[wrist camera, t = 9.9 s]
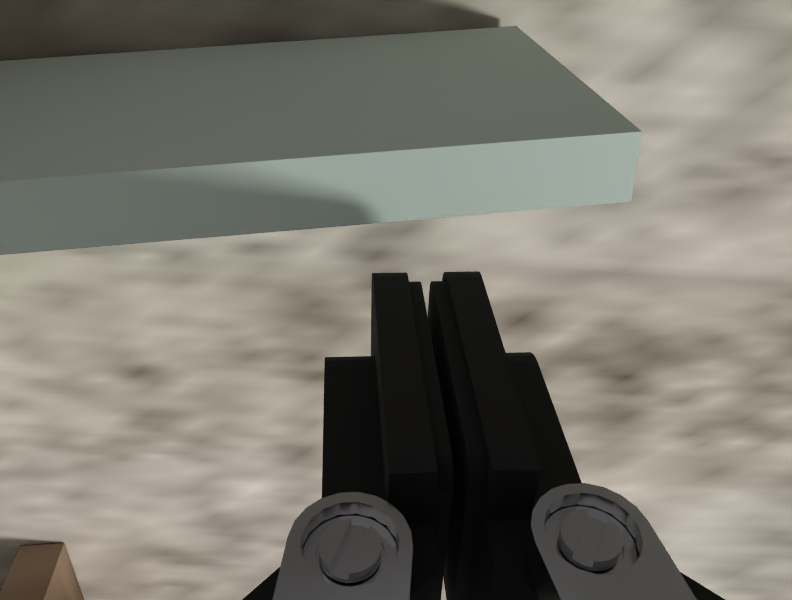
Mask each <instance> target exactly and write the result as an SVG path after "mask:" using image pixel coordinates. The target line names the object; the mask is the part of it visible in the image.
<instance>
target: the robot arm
mask: <svg viewBox="0 0 792 600" xmlns="http://www.w3.org/2000/svg"><path fill="white" fill-rule="evenodd" d="M443 577H444V584H445V591H446V598H447V600H725V599H723V598H722V597H720V596H718V595H717V594H715V593H713V592H712V591H710V590H709V589H707V588H705V587H704V586H702V585H700V584H699V583H697V582H696V581H694V580H692V579H691V578H689V577H687V576H686V575H684V574H683V573H681V572H679V570H678V568H677V567H676V565H675V564H674V562H673V560H672V559H671V557H670V555H669V554H668V552H667V551H666V549H665V547H664V546H663V544H662V543H661V541H660V539H659V538H658V536H657V534H656V533H655V531H654V530H653V528H652V526H651V525H650V523H649V522H648V520H647V519H646V518H645V517H644V515H643V514H642V513H641V512H640V511H639V509H638V508H637V507H636V506H635V505H633V504H632V503H631V502H629V501H628V500H627V499H625V498H624V497H623V496H621V495H620V494H617V493H615V492H613V491H611V490H608V489H606V488H604V487H600V486H595V485H591V484H586V483H581V480H580V477H579V474H578V472H577V469H576V466H575V463H574V461H573V458H572V455H571V452H570V450H569V447H568V444H567V442H566V439H565V436H564V433H563V431H562V428H561V425H560V422H559V420H558V417H557V414H556V411H555V409H554V406H553V403H552V400H551V398H550V395H549V392H548V389H547V387H546V384H545V381H544V378H543V376H542V373H541V370H540V368H539V365H538V362H537V360H536V358H535V356H534V355H533V354H532V353H531V352H526V353H505V350H504V347H503V343H502V340H501V337H500V334H499V331H498V327H497V324H496V321H495V318H494V315H493V311H492V308H491V305H490V302H489V299H488V295H487V292H486V289H485V286H484V282H483V279H482V276H481V274H480V272H444V274H443V278H442V281H431V283H430V291H429V306H428V318H427V312H426V307H425V301H424V296H423V290H422V285H421V282H409V281H408V275H407V273H372V307H371V356H363V357H325V374H324V425H323V475H322V498H321V499H320V500H318V501H316V502H315V503H313V504H312V505H310V506H308V507H307V508H306V509H305V510H304V511H303V512H302V513H301V514H300V515H299V517H298V518H297V519H296V520H295V521H294V524H293V526H292V528H291V530H290V533H289V535H288V538H287V542H286V546H285V550H284V554H283V558H282V563H281V567H279V568H278V569H277V570H276V571H275V572H274V573H272V574H271V575H270V576H269V577H268V578H267V579H266V580H264V581H263V582H262V583H261V584H260V585H259V586H258V587H256V588H255V589H254V590H253V591H252V592H251V593H249V594H248V595H247V596H246V597H245V598H244V599H243V600H441V591H442V582H443Z"/></svg>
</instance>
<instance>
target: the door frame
mask: <svg viewBox="0 0 792 600" xmlns="http://www.w3.org/2000/svg"><path fill="white" fill-rule="evenodd" d="M0 600H84V598H83V595H82V593H81V590H80V587H79V584H78V581H77V578H76V576H75V573H74V570H73V567H72V564H71V561H70V559H69V556H68V553H67V550H66V547H65V544H64V543H57V544H42V545H27V546H20V547H19V549H18V551H17V554H16V556H15V558H14V561H13V563H12V566H11V568H10V570H9V573H8V575H7V577H6V580H5V582H4V584H3V587H2V589H1V592H0Z"/></svg>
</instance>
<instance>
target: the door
mask: <svg viewBox="0 0 792 600" xmlns="http://www.w3.org/2000/svg"><path fill="white" fill-rule="evenodd" d="M641 134H642V131H641V130H639V129H638V128H637V127H636V126H635V125H633V124H632V123H631V122H630V121H629V120H628V119H626V118H625V117H624V116H623V115H622V114H620V113H619V112H618V111H617V110H616V109H614V108H613V107H612V106H611V105H610V104H608V103H607V102H606V101H605V100H604V99H603V98H601V97H600V96H599V95H598V94H597V93H595V92H594V91H593V90H592V89H591V88H589V87H588V86H587V85H586V84H585V83H583V82H582V81H581V80H580V79H579V78H578V77H576V76H575V75H574V74H573V73H572V72H570V71H569V70H568V69H567V68H566V67H564V66H563V65H562V64H561V63H560V62H558V61H557V60H556V59H555V58H554V57H553V56H551V55H550V54H549V53H548V52H547V51H545V50H544V49H543V48H542V47H541V46H539V45H538V44H537V43H536V42H535V41H533V40H532V39H531V38H530V37H529V36H528V35H526V34H525V33H524V32H523V31H522V30H520V29H519V28H518V27H517V26H510V27H495V28H480V29H465V30H450V31H435V32H421V33H406V34H391V35H376V36H361V37H347V38H332V39H317V40H302V41H287V42H272V43H258V44H243V45H228V46H213V47H198V48H183V49H169V50H154V51H139V52H124V53H109V54H94V55H80V56H65V57H50V58H35V59H20V60H5V61H0V255H4V254H16V253H28V252H40V251H52V250H63V249H75V248H87V247H99V246H111V245H123V244H135V243H147V242H158V241H170V240H182V239H194V238H206V237H218V236H230V235H241V234H253V233H265V232H277V231H289V230H301V229H313V228H325V227H336V226H348V225H360V224H372V223H384V222H396V221H408V220H420V219H431V218H443V217H455V216H467V215H479V214H491V213H503V212H515V211H526V210H538V209H550V208H562V207H574V206H586V205H598V204H610V203H621V202H631V199H632V193H633V186H634V179H635V173H636V166H637V160H638V153H639V147H640V140H641Z"/></svg>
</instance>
